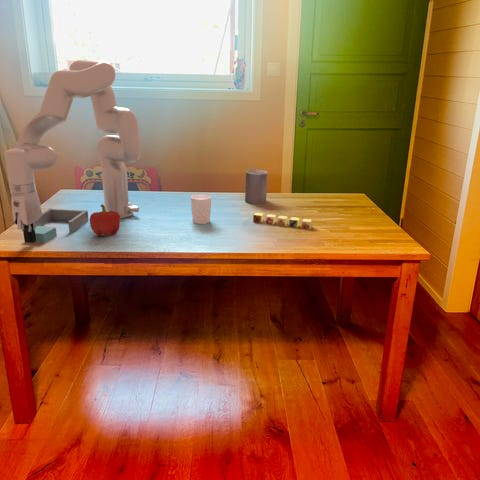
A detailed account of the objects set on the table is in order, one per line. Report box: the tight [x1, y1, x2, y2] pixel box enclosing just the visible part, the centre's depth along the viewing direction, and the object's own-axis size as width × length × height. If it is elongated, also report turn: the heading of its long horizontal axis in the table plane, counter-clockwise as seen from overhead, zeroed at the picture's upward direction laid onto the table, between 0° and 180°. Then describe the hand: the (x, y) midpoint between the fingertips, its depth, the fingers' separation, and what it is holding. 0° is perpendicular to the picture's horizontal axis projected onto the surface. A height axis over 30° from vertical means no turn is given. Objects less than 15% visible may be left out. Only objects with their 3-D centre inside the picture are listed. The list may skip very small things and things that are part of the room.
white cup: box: [190, 193, 212, 225], centre depth 185 cm, size 8×8×10 cm
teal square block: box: [34, 225, 58, 244], centre depth 164 cm, size 7×7×4 cm
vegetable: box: [89, 204, 121, 237], centre depth 169 cm, size 11×10×10 cm
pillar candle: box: [244, 168, 268, 205], centre depth 213 cm, size 10×10×15 cm
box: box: [35, 208, 89, 233], centre depth 178 cm, size 15×14×4 cm
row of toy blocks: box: [252, 212, 313, 230], centre depth 183 cm, size 32×32×3 cm
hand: (30, 241), depth 158 cm, fingers closed
